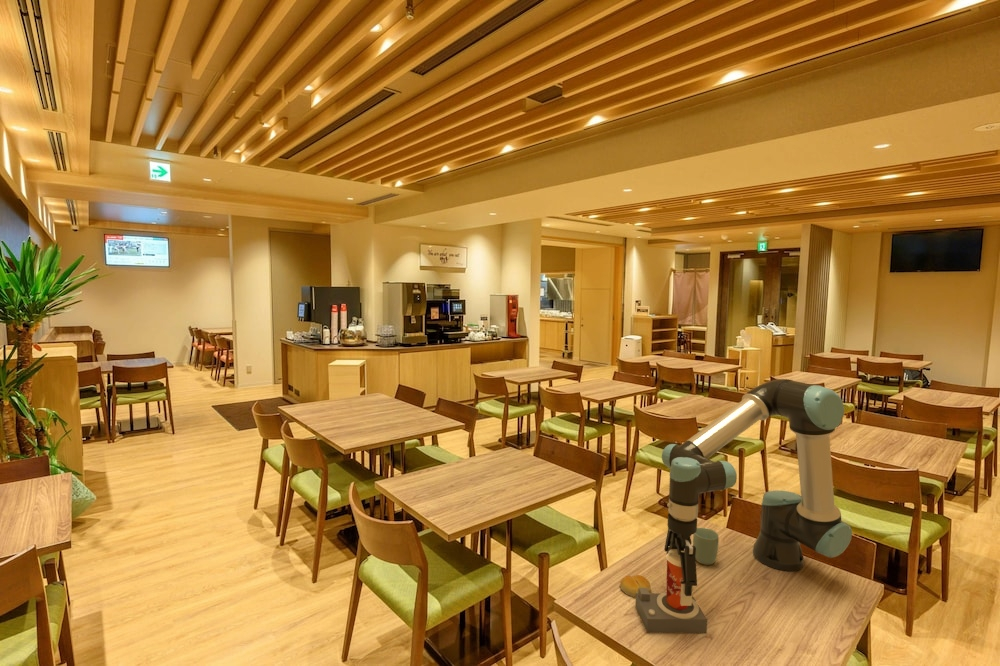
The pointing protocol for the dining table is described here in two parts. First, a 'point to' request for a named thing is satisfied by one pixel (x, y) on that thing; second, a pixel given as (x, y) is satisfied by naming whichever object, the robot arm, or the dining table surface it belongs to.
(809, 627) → the dining table surface
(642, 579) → the bread roll
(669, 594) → the paper cup
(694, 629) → the block
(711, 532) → the cup
